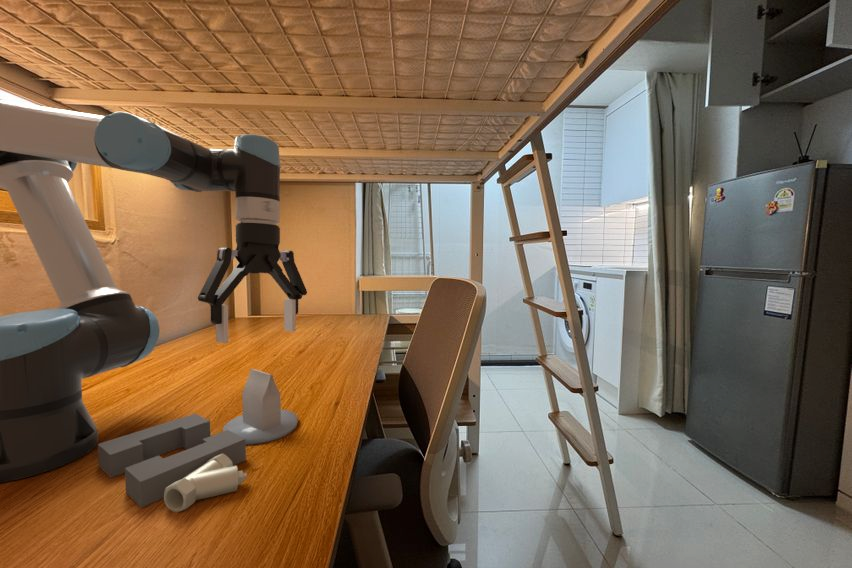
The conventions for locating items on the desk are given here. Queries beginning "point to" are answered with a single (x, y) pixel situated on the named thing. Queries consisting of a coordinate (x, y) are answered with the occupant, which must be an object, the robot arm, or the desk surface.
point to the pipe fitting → (204, 483)
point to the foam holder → (158, 473)
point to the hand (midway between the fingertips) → (258, 336)
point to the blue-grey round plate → (258, 436)
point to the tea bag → (261, 401)
